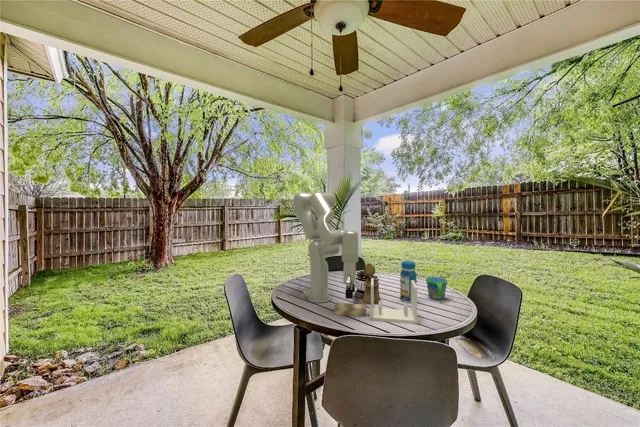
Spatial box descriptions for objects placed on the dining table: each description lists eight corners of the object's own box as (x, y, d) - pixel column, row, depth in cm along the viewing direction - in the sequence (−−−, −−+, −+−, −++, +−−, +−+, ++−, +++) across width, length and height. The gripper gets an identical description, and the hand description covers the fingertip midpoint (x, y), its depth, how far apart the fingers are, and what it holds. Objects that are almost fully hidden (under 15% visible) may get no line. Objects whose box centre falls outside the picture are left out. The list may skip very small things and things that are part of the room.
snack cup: (449, 304, 141) (450, 283, 141) (427, 302, 144) (427, 282, 144) (444, 294, 156) (444, 276, 156) (424, 293, 159) (424, 275, 159)
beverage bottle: (417, 303, 142) (418, 264, 142) (400, 302, 144) (400, 263, 143) (415, 298, 150) (415, 260, 150) (399, 297, 152) (399, 260, 152)
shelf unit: (369, 320, 122) (369, 285, 121) (370, 310, 133) (370, 278, 133) (418, 323, 118) (418, 287, 117) (414, 313, 129) (414, 280, 129)
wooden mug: (377, 295, 155) (377, 263, 154) (382, 304, 141) (382, 268, 141) (361, 295, 155) (361, 263, 155) (364, 304, 141) (364, 268, 141)
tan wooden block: (334, 315, 128) (334, 306, 128) (336, 311, 133) (336, 302, 133) (365, 317, 125) (365, 308, 125) (366, 313, 130) (366, 304, 130)
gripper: (344, 254, 138) (344, 289, 138) (339, 261, 121) (339, 300, 121) (359, 255, 136) (359, 290, 137) (356, 261, 120) (357, 301, 120)
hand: (350, 295), depth 129 cm, fingers open, 9 cm apart
